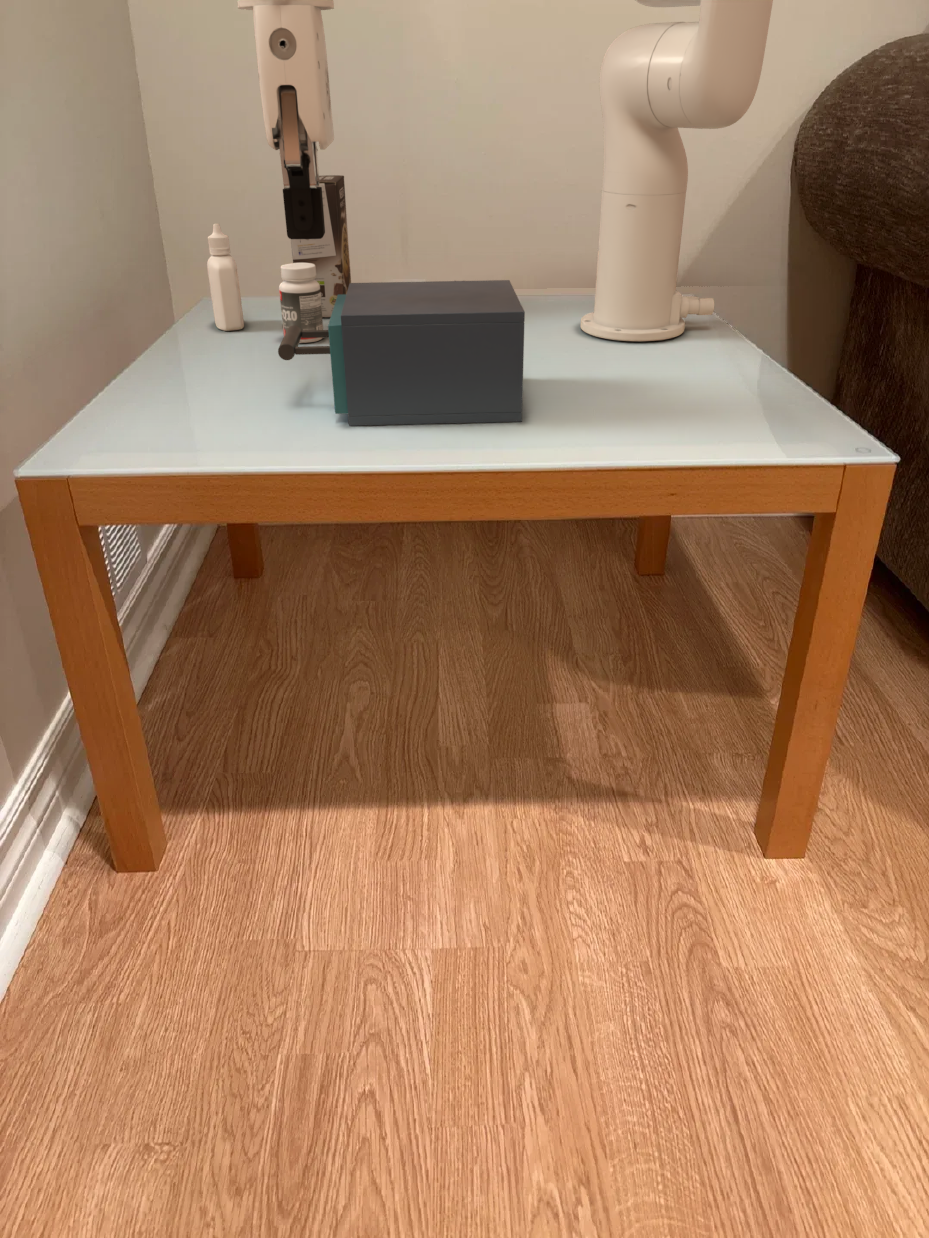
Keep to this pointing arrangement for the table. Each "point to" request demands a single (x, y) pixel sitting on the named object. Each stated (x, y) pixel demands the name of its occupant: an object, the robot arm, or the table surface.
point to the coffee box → (329, 245)
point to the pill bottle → (300, 298)
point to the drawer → (322, 351)
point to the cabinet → (433, 352)
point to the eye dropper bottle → (224, 283)
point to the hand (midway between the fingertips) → (306, 237)
